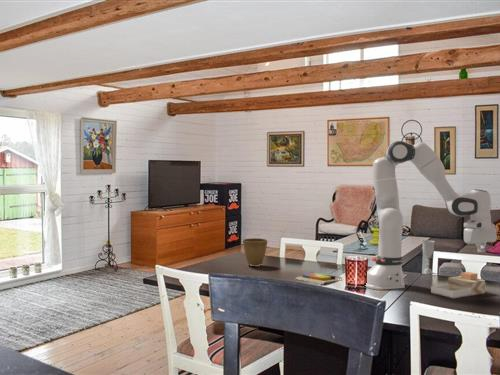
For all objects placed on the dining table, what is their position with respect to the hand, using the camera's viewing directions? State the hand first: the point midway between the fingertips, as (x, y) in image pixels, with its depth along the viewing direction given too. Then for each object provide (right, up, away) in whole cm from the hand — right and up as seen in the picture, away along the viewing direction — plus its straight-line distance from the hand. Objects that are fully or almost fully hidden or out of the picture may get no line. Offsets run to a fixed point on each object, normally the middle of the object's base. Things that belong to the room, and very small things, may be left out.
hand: (480, 251), depth 226 cm
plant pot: (-108, -17, +58) cm, 124 cm away
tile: (-7, -12, -4) cm, 15 cm away
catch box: (-19, -18, -10) cm, 28 cm away
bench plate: (-9, -18, -5) cm, 21 cm away
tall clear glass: (-10, -18, +41) cm, 45 cm away
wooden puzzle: (-75, -18, +20) cm, 80 cm away
